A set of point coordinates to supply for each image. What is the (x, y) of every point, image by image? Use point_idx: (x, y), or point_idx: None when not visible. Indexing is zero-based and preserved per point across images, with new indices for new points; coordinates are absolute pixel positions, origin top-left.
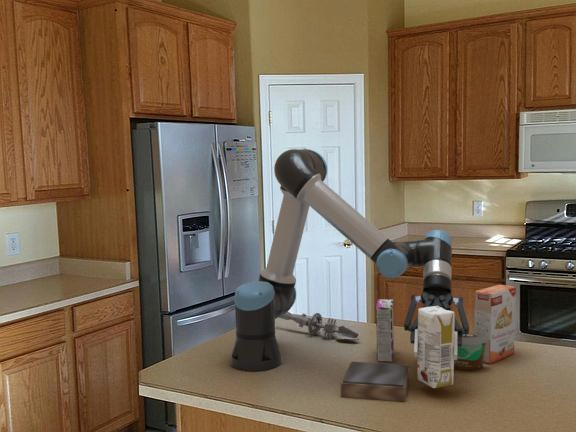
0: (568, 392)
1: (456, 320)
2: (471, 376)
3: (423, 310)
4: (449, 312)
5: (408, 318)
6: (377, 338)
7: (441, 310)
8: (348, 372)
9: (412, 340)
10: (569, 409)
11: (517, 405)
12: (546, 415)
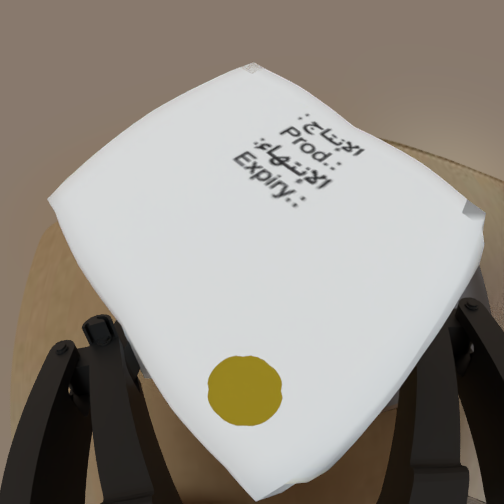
0: (13, 378)
1: (92, 394)
2: (177, 472)
3: (413, 162)
4: (99, 150)
5: (489, 335)
6: (473, 499)
7: (176, 204)
8: (480, 279)
9: None
10: (24, 297)
11: (85, 296)
12: (56, 261)
